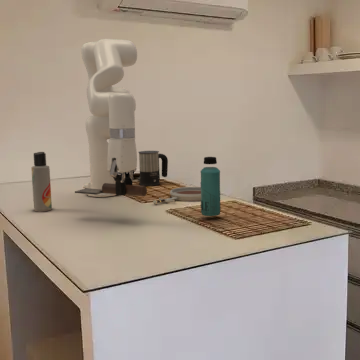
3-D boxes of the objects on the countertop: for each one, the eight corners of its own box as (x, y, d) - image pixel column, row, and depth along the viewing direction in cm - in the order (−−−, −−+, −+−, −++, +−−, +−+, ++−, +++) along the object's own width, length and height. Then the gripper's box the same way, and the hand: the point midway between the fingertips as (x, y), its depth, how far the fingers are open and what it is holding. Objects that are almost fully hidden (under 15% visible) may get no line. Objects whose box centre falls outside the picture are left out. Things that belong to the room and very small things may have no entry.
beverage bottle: (223, 216, 161) (223, 156, 158) (216, 221, 155) (216, 158, 151) (205, 215, 163) (204, 155, 160) (197, 219, 157) (196, 157, 154)
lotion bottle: (55, 209, 171) (52, 151, 167) (42, 212, 166) (39, 153, 162) (43, 207, 173) (39, 150, 170) (30, 210, 168) (26, 152, 165)
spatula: (74, 192, 155) (74, 182, 154) (86, 189, 160) (86, 179, 160) (139, 198, 147) (139, 187, 147) (149, 194, 153) (149, 184, 152)
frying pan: (138, 195, 183) (190, 184, 204) (138, 203, 183) (191, 191, 205) (169, 201, 172) (222, 189, 194) (170, 210, 173) (222, 196, 195)
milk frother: (150, 186, 215) (149, 153, 212) (123, 183, 223) (122, 150, 221) (171, 182, 227) (170, 150, 224) (145, 179, 235) (144, 148, 233)
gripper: (126, 132, 158) (128, 188, 161) (95, 135, 143) (98, 198, 146) (147, 133, 156) (148, 190, 159) (118, 136, 140) (120, 199, 143)
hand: (124, 193), depth 152 cm, fingers closed on spatula, 3 cm apart
